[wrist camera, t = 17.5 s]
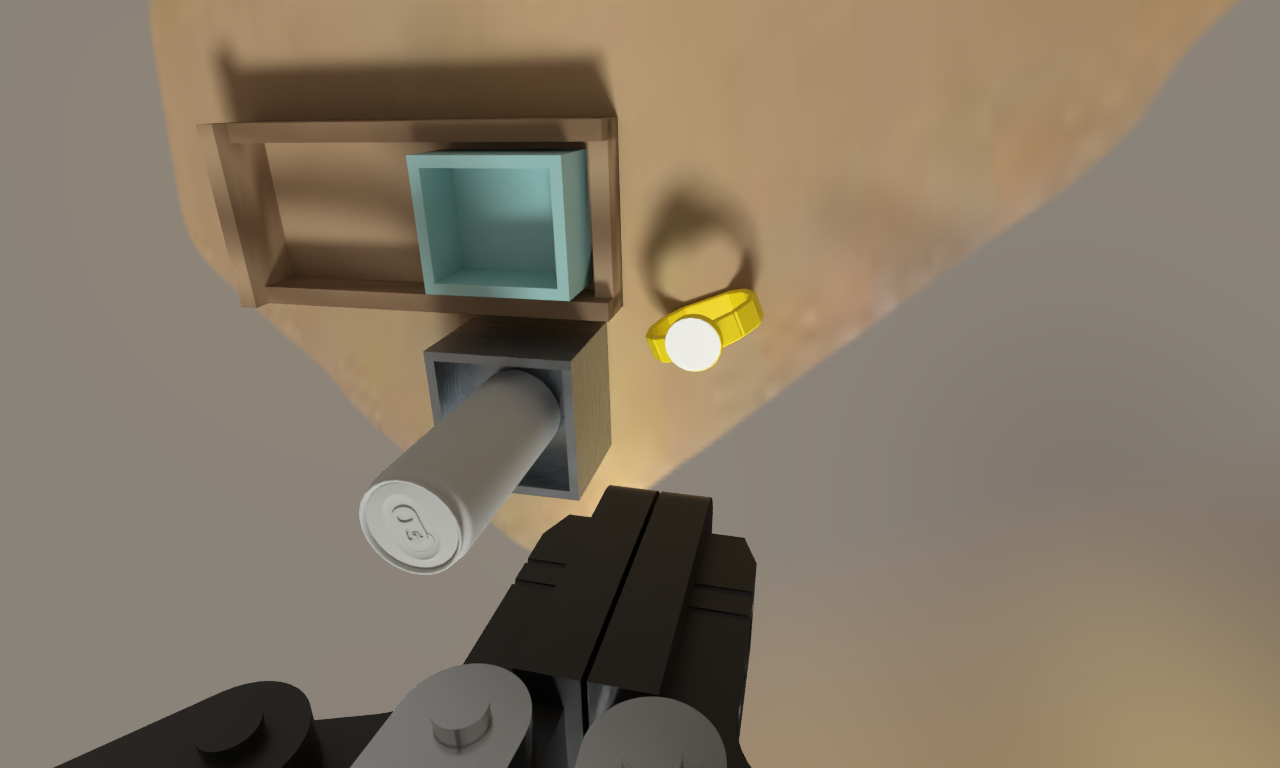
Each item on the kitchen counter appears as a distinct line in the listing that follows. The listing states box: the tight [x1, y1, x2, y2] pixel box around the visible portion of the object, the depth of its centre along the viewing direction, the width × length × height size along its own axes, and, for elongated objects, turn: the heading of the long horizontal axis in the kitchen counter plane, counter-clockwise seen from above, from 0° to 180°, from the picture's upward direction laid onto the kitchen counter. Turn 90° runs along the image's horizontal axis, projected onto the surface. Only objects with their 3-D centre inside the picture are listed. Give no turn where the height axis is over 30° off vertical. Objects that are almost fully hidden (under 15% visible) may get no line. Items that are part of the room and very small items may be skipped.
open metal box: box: [423, 315, 611, 501], centre depth 39 cm, size 8×8×6 cm
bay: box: [196, 117, 623, 322], centre depth 38 cm, size 10×22×4 cm, turn 91°
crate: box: [406, 149, 593, 301], centre depth 36 cm, size 7×8×4 cm
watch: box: [645, 288, 764, 372], centre depth 35 cm, size 6×3×6 cm, turn 113°
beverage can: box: [359, 370, 560, 575], centre depth 33 cm, size 5×5×12 cm
